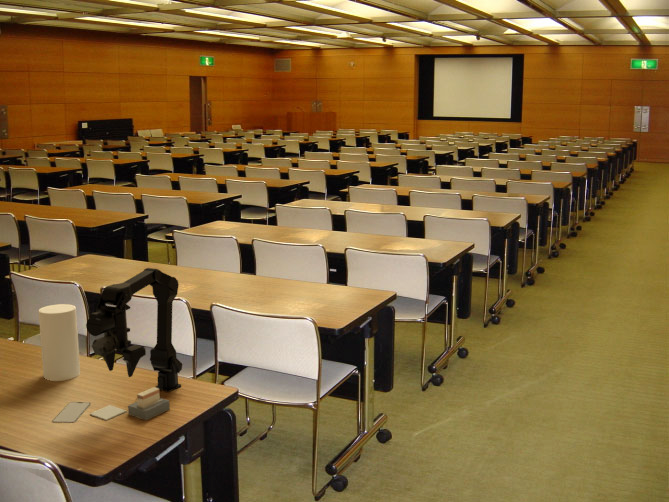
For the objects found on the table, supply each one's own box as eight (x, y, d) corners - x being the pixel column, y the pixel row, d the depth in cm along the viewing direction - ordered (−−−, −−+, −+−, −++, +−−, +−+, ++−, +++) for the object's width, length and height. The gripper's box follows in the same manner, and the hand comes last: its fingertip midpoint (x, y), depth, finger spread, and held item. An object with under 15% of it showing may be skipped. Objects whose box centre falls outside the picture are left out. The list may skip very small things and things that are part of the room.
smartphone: (50, 421, 217) (69, 402, 231) (51, 423, 217) (69, 403, 231) (74, 422, 216) (91, 402, 231) (74, 424, 217) (91, 404, 231)
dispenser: (152, 403, 231) (151, 394, 230) (169, 409, 227) (169, 399, 226) (128, 414, 223) (127, 404, 222) (146, 420, 219) (145, 410, 218)
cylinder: (78, 379, 252) (73, 312, 247) (40, 382, 249) (35, 314, 244) (82, 367, 263) (77, 303, 259) (46, 370, 261) (41, 305, 256)
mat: (109, 406, 229) (109, 404, 229) (126, 411, 225) (126, 410, 225) (89, 414, 222) (89, 413, 222) (106, 420, 218) (106, 419, 218)
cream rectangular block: (154, 407, 228) (153, 387, 227) (160, 409, 227) (159, 388, 226) (138, 414, 223) (137, 394, 221) (143, 416, 221) (142, 395, 220)
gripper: (76, 327, 216) (80, 375, 219) (115, 339, 206) (119, 388, 209) (106, 318, 225) (109, 364, 228) (145, 329, 215) (148, 376, 218)
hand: (120, 373), depth 221 cm, fingers open, 9 cm apart
